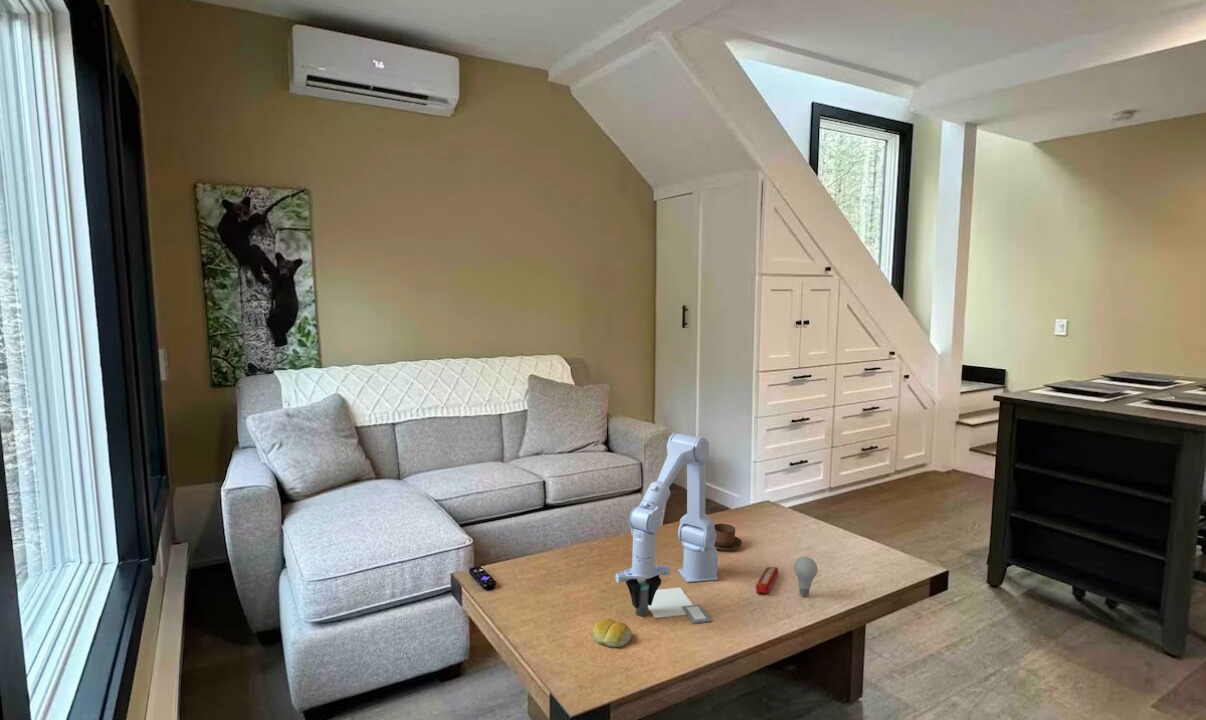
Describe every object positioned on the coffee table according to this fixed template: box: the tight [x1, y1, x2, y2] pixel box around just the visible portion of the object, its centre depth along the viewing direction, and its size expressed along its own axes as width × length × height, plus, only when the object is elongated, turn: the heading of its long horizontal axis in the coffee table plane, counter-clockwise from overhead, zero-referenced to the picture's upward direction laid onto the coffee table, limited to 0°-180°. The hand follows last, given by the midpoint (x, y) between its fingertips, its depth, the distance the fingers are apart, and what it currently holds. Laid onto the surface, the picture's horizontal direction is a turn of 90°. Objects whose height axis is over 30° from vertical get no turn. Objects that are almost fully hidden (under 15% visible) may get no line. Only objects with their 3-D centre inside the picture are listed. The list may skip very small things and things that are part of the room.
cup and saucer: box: [714, 523, 743, 551], centre depth 206 cm, size 12×12×6 cm
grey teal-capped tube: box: [635, 579, 649, 617], centre depth 162 cm, size 3×3×8 cm
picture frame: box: [682, 604, 713, 625], centre depth 162 cm, size 5×8×1 cm, turn 13°
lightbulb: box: [793, 556, 818, 597], centre depth 173 cm, size 6×6×11 cm
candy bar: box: [755, 566, 779, 594], centre depth 181 cm, size 16×4×3 cm, turn 153°
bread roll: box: [592, 618, 632, 648], centre depth 151 cm, size 8×9×4 cm
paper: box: [648, 587, 694, 619], centre depth 169 cm, size 12×14×1 cm
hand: (642, 604), depth 162 cm, fingers closed on grey teal-capped tube, 3 cm apart
